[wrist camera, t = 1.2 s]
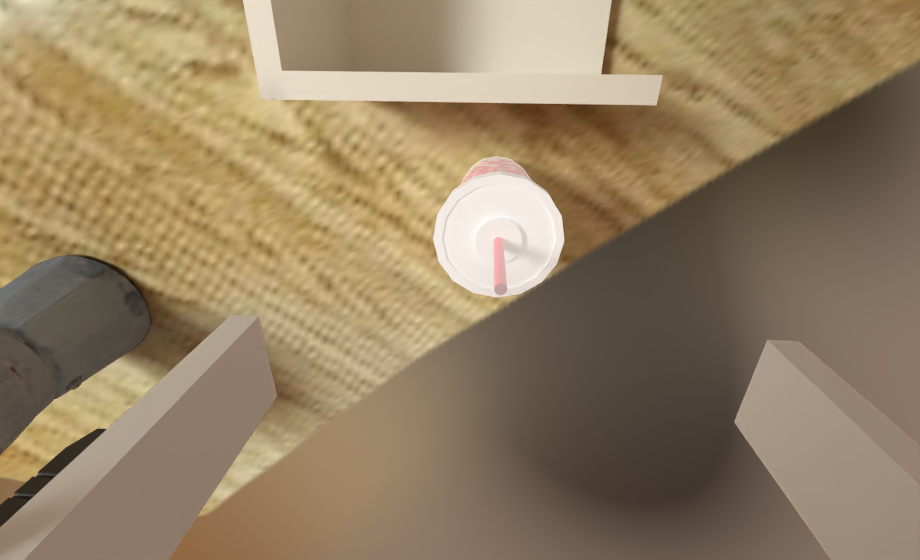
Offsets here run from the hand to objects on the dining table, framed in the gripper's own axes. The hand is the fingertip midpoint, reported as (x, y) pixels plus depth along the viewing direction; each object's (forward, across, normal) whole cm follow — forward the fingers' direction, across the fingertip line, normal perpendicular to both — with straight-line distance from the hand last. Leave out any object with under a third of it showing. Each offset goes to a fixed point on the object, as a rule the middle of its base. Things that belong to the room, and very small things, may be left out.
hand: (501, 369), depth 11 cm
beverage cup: (+19, 0, 0) cm, 19 cm away
